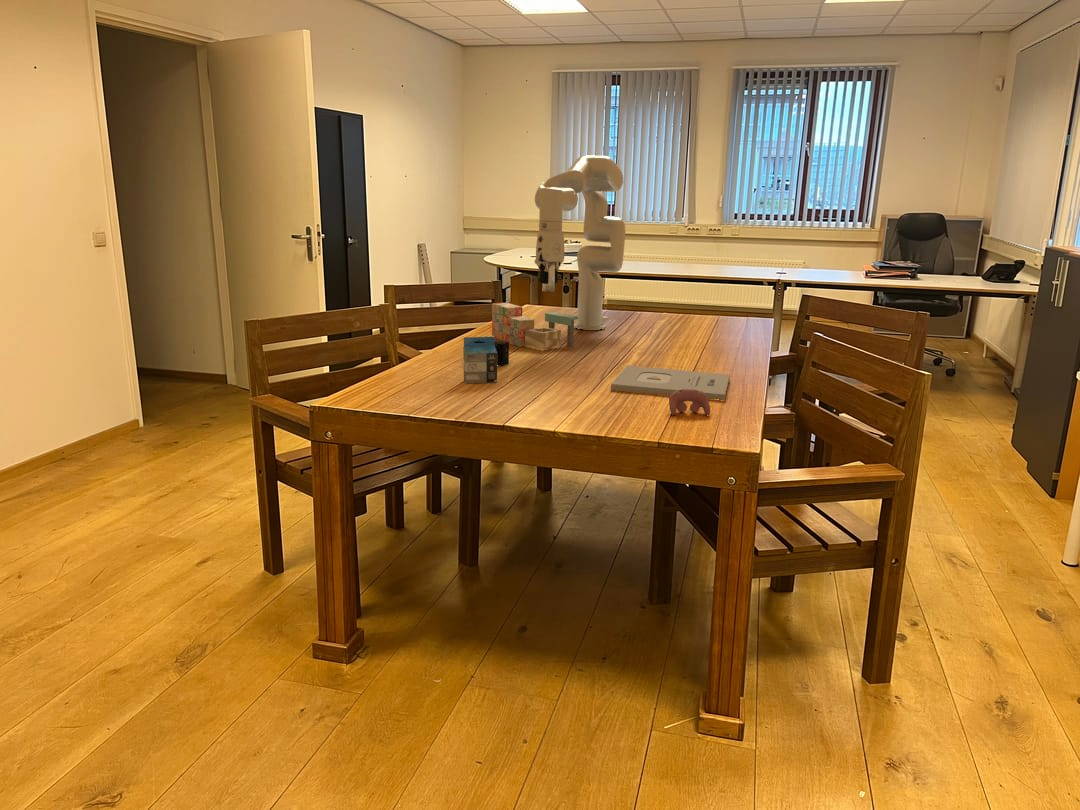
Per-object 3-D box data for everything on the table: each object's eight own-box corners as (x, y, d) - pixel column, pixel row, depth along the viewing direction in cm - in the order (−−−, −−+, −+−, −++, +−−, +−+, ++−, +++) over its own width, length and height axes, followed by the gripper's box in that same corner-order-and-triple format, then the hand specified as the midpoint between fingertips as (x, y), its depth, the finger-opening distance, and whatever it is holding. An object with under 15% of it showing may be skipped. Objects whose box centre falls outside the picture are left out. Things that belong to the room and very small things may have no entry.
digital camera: (470, 363, 238) (470, 341, 236) (478, 360, 242) (478, 338, 241) (500, 367, 234) (501, 344, 232) (508, 364, 238) (509, 341, 237)
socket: (543, 344, 270) (543, 327, 269) (560, 347, 265) (560, 330, 263) (525, 347, 264) (525, 329, 262) (541, 351, 259) (542, 333, 257)
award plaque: (724, 403, 202) (724, 394, 202) (610, 391, 210) (611, 383, 210) (729, 381, 225) (729, 374, 225) (626, 372, 233) (627, 365, 232)
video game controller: (707, 418, 192) (706, 390, 193) (712, 415, 187) (711, 386, 188) (667, 418, 191) (666, 390, 192) (671, 414, 187) (670, 386, 188)
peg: (556, 291, 261) (557, 260, 258) (549, 291, 258) (550, 261, 255) (547, 289, 263) (548, 259, 261) (539, 290, 260) (540, 260, 258)
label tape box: (465, 384, 212) (465, 339, 209) (463, 380, 216) (463, 337, 213) (497, 383, 215) (497, 339, 211) (494, 379, 218) (494, 336, 215)
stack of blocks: (534, 346, 267) (534, 310, 263) (517, 347, 264) (518, 311, 261) (506, 335, 285) (507, 302, 282) (491, 336, 282) (491, 302, 279)
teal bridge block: (552, 340, 278) (552, 312, 275) (577, 345, 270) (578, 316, 267) (544, 341, 275) (545, 313, 273) (569, 346, 267) (570, 317, 265)
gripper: (542, 227, 247) (541, 285, 251) (575, 227, 259) (572, 282, 264) (525, 226, 251) (523, 283, 256) (557, 226, 264) (555, 280, 268)
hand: (548, 282), depth 260 cm, fingers closed on peg, 4 cm apart
